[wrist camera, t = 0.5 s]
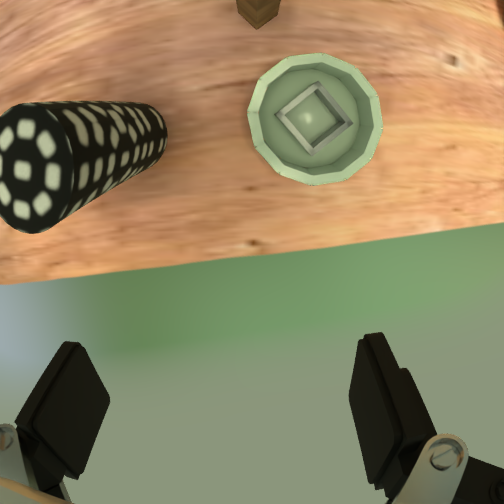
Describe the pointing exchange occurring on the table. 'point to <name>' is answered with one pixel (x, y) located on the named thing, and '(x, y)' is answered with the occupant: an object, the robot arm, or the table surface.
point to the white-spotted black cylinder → (71, 156)
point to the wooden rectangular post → (258, 11)
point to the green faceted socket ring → (315, 119)
